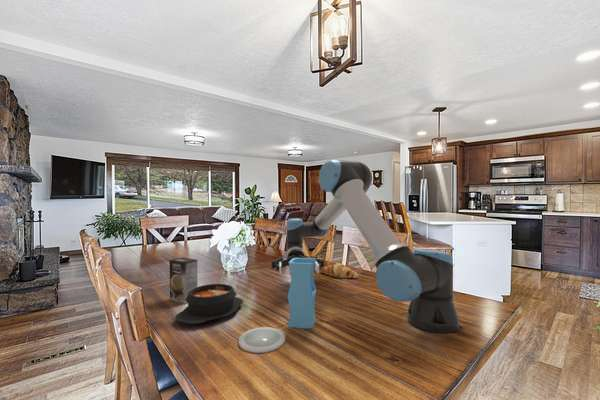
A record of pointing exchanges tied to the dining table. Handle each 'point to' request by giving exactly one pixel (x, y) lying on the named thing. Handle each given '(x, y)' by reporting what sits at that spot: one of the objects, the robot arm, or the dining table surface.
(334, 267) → the croissant
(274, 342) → the plate
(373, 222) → the robot arm
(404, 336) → the dining table surface
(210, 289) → the casserole
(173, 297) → the coffee box
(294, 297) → the vase
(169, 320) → the dining table surface
